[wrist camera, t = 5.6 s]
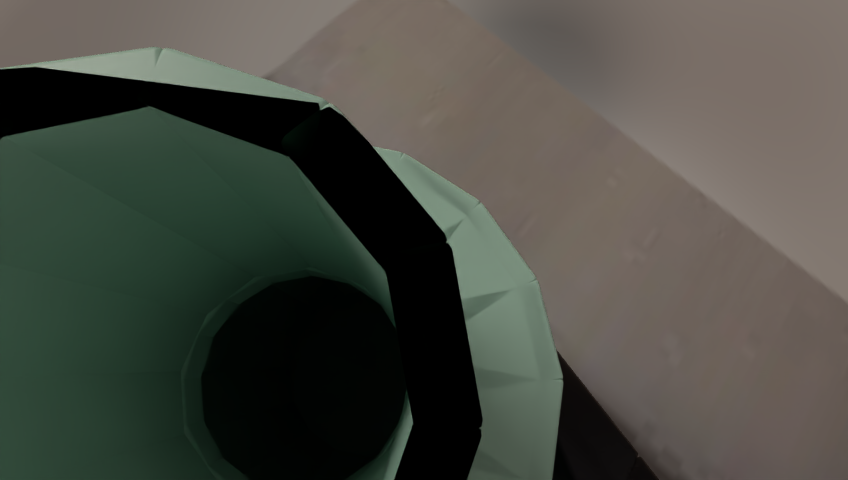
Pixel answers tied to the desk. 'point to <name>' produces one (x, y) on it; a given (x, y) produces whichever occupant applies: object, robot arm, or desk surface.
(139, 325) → the water bottle
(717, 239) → the desk surface
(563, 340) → the desk surface
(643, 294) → the desk surface
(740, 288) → the desk surface
